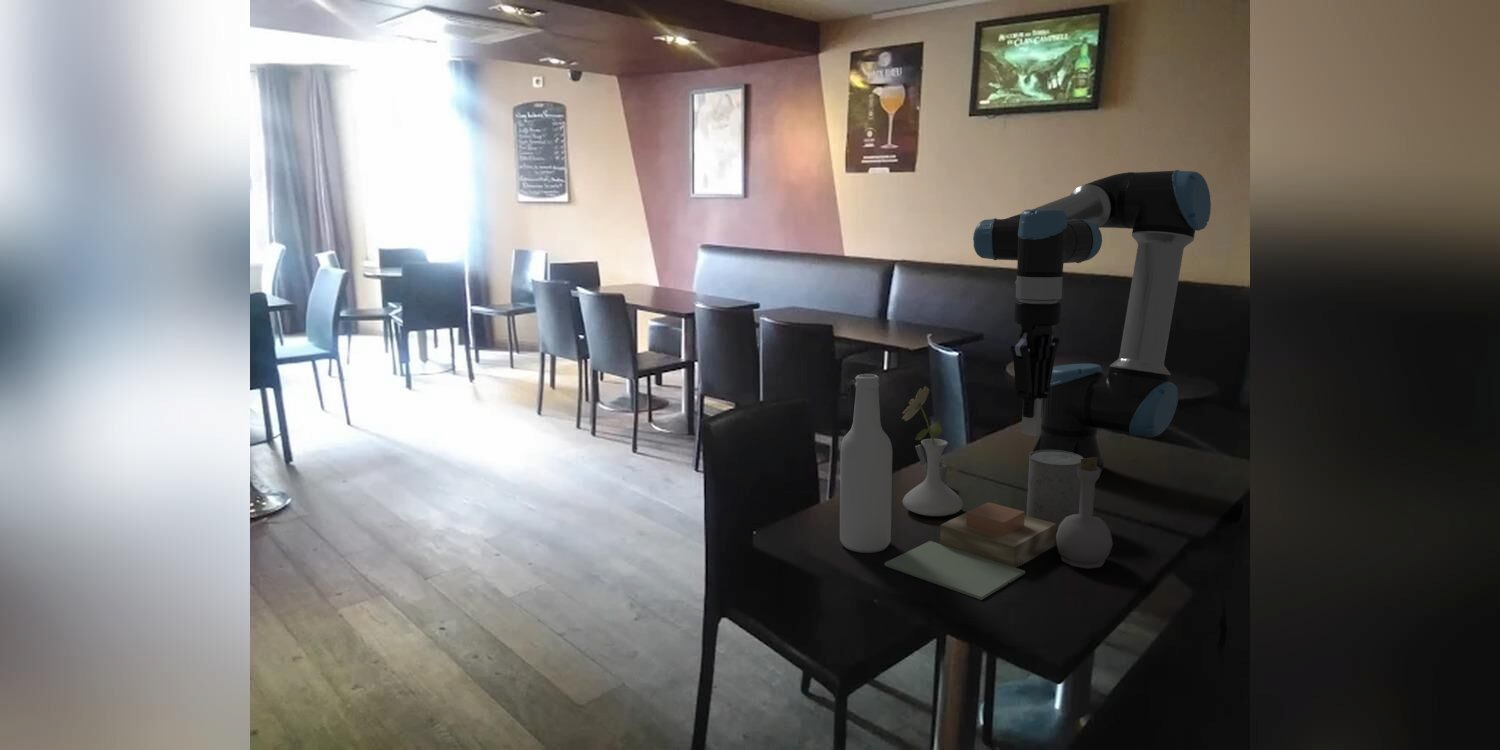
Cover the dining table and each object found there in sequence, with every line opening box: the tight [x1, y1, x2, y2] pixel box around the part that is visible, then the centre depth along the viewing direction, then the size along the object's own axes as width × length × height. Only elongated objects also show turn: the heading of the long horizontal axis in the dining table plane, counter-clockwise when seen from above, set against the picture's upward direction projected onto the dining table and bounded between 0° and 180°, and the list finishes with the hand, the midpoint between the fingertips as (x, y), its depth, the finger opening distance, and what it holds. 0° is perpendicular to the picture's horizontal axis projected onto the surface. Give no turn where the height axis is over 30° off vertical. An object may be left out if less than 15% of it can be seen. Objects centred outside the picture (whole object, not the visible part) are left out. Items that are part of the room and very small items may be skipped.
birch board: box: [939, 512, 1057, 568], centre depth 150 cm, size 14×14×4 cm
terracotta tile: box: [966, 501, 1026, 537], centre depth 149 cm, size 7×7×2 cm
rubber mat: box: [884, 540, 1026, 601], centre depth 142 cm, size 13×18×1 cm
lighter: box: [915, 443, 948, 486], centre depth 184 cm, size 7×2×8 cm, turn 42°
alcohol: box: [839, 373, 893, 554], centre depth 150 cm, size 9×9×30 cm
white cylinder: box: [1025, 450, 1084, 531], centre depth 161 cm, size 10×10×12 cm
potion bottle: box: [1055, 457, 1113, 570], centre depth 143 cm, size 9×9×18 cm
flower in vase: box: [901, 385, 964, 517], centre depth 165 cm, size 13×11×25 cm
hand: (1030, 434), depth 154 cm, fingers closed
